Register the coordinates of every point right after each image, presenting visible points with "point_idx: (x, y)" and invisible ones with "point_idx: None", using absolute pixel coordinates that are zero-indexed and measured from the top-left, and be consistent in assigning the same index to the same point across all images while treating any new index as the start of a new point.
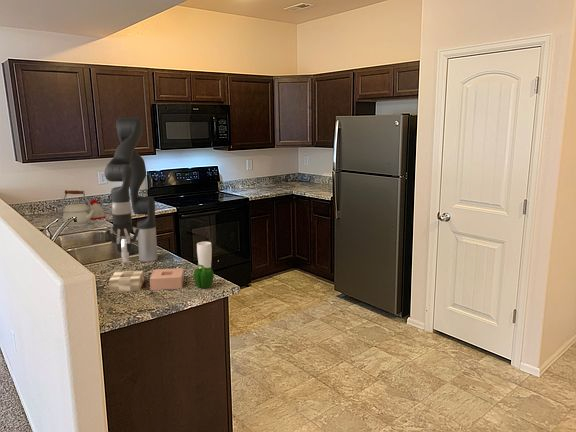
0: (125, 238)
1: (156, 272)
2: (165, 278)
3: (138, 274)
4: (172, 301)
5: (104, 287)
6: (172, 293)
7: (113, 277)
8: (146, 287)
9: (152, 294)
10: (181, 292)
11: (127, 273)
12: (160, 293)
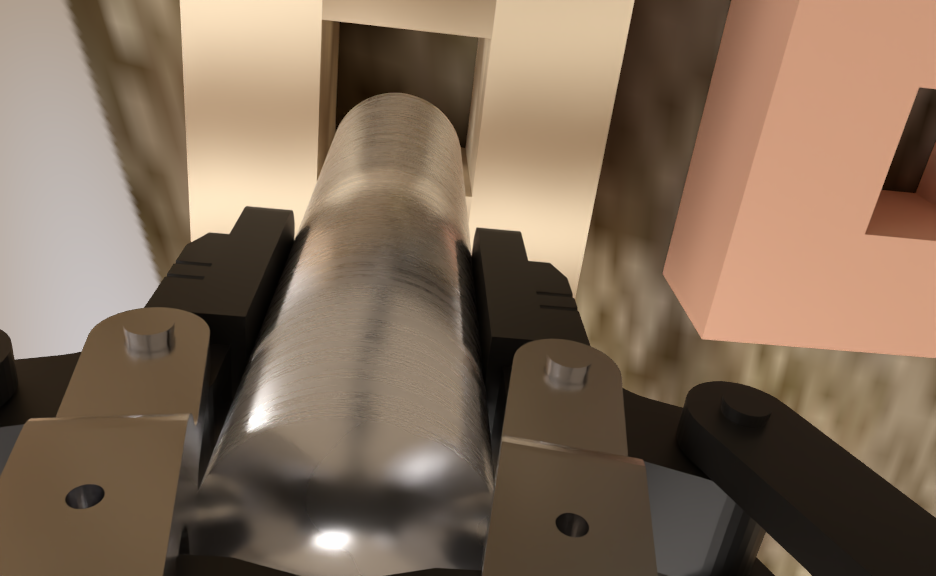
0: (418, 566)
1: (833, 91)
2: (883, 351)
3: (571, 116)
4: None
5: (114, 29)
6: (849, 405)
7: (223, 161)
8: (628, 172)
9: (670, 387)
10: (933, 400)
11: (404, 15)
12: (745, 380)
